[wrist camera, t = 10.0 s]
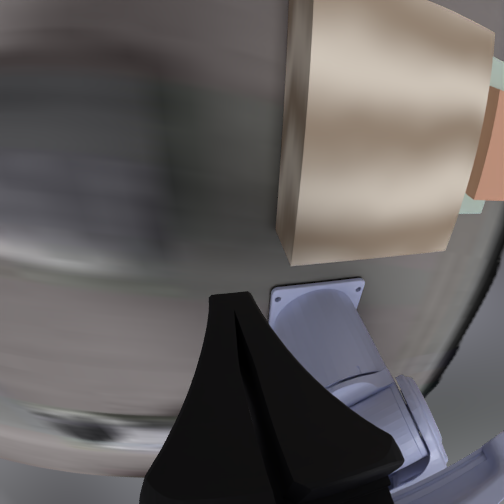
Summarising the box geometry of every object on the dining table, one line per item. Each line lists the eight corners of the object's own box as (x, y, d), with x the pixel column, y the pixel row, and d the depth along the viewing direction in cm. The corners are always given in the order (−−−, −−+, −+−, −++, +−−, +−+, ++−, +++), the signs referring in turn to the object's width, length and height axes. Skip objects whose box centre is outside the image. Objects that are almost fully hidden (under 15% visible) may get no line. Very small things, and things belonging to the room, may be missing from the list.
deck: (417, 222, 24) (445, 250, 21) (275, 229, 22) (290, 266, 19) (454, 27, 15) (494, 32, 11) (289, -18, 13) (314, -32, 10)
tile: (473, 200, 20) (458, 188, 22) (512, 201, 21) (498, 190, 23) (500, 89, 15) (481, 82, 17) (537, 106, 16) (520, 99, 18)
